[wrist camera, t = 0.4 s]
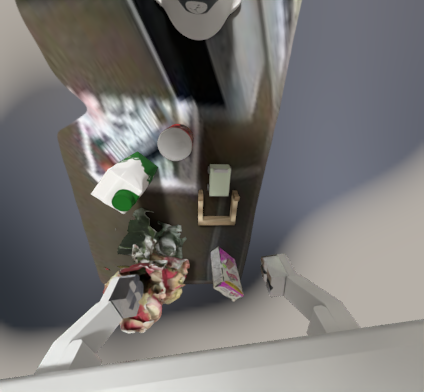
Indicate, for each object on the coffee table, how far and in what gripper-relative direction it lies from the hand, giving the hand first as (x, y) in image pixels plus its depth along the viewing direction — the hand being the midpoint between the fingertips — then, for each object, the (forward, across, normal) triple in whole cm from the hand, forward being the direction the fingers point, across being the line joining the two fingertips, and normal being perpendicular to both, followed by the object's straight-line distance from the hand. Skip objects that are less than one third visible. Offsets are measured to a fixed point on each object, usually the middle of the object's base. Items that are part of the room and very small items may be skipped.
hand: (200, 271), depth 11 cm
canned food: (+44, +5, -3) cm, 45 cm away
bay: (+44, -3, +22) cm, 49 cm away
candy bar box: (+44, -3, +46) cm, 64 cm away
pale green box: (+44, -4, +11) cm, 46 cm away
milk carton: (+44, +19, +4) cm, 48 cm away
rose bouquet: (+44, +22, +35) cm, 60 cm away
